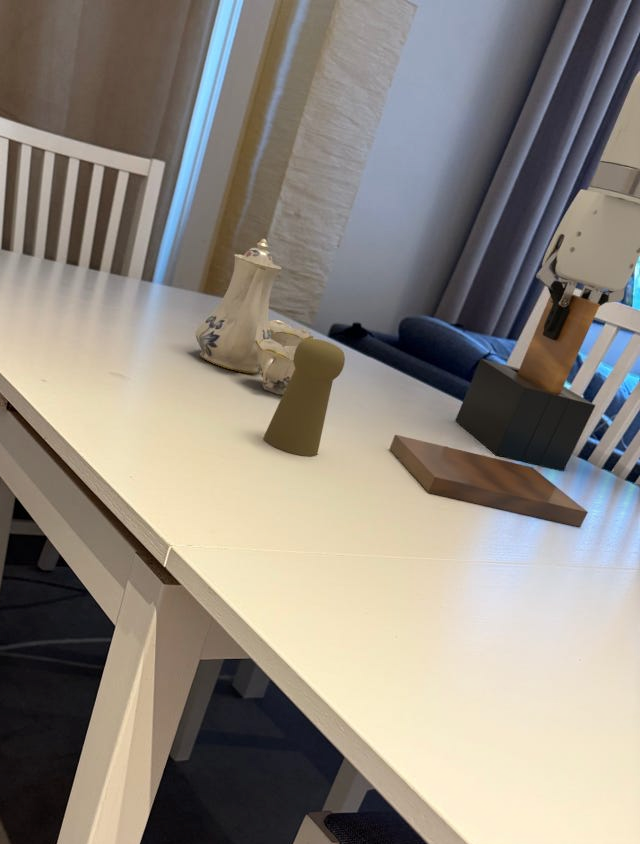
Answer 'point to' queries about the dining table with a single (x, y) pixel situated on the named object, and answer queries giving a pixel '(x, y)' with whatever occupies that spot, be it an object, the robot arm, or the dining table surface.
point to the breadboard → (486, 481)
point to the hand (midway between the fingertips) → (557, 338)
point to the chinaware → (251, 325)
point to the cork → (306, 398)
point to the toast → (558, 346)
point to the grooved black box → (522, 416)
